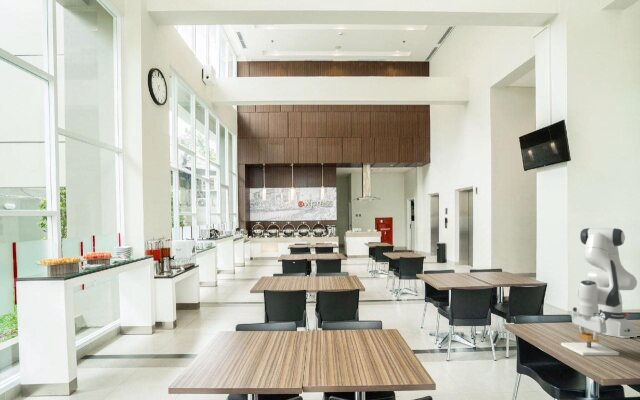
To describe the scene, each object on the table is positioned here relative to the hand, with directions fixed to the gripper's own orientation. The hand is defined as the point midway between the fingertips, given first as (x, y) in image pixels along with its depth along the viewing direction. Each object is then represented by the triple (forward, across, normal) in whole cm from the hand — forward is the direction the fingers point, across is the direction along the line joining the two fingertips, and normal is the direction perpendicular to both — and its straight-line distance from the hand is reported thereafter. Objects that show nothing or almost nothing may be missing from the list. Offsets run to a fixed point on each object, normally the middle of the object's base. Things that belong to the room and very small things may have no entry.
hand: (588, 337), depth 208 cm
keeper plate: (+7, 0, 0) cm, 7 cm away
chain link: (+2, 0, 0) cm, 2 cm away
